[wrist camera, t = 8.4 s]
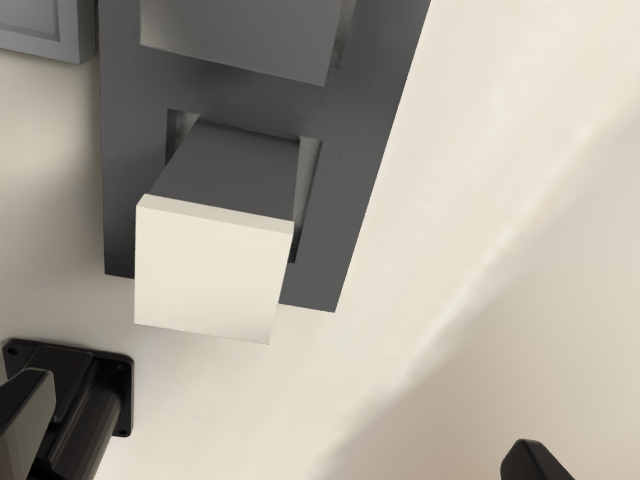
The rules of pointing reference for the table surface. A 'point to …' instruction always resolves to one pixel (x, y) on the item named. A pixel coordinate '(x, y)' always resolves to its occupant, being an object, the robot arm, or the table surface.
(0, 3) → the tray
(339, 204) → the board
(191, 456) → the table surface
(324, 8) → the plug
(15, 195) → the table surface
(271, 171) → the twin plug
